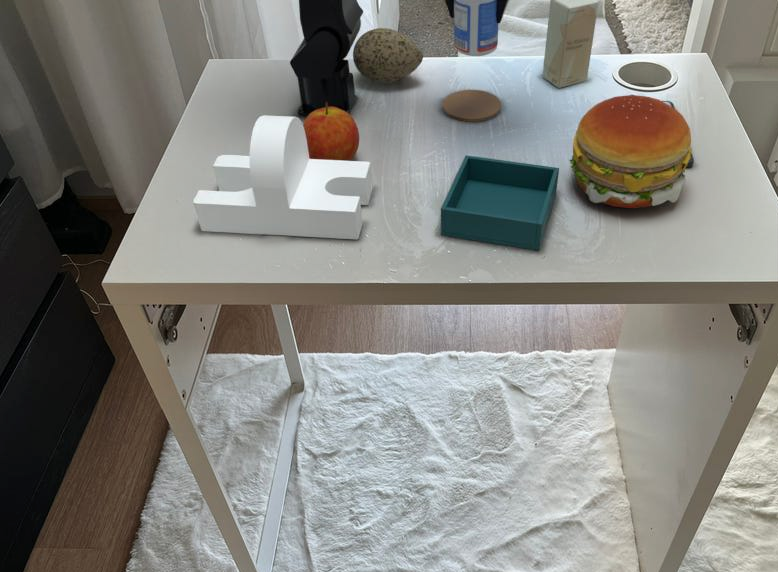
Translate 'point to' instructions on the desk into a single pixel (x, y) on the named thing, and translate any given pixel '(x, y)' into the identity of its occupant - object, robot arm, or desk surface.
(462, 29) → the pill bottle
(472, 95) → the coaster
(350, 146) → the fruit
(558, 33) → the box
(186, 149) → the desk surface
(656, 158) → the burger
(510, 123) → the desk surface
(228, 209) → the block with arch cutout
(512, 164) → the bin
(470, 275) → the desk surface
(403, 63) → the decorative egg
